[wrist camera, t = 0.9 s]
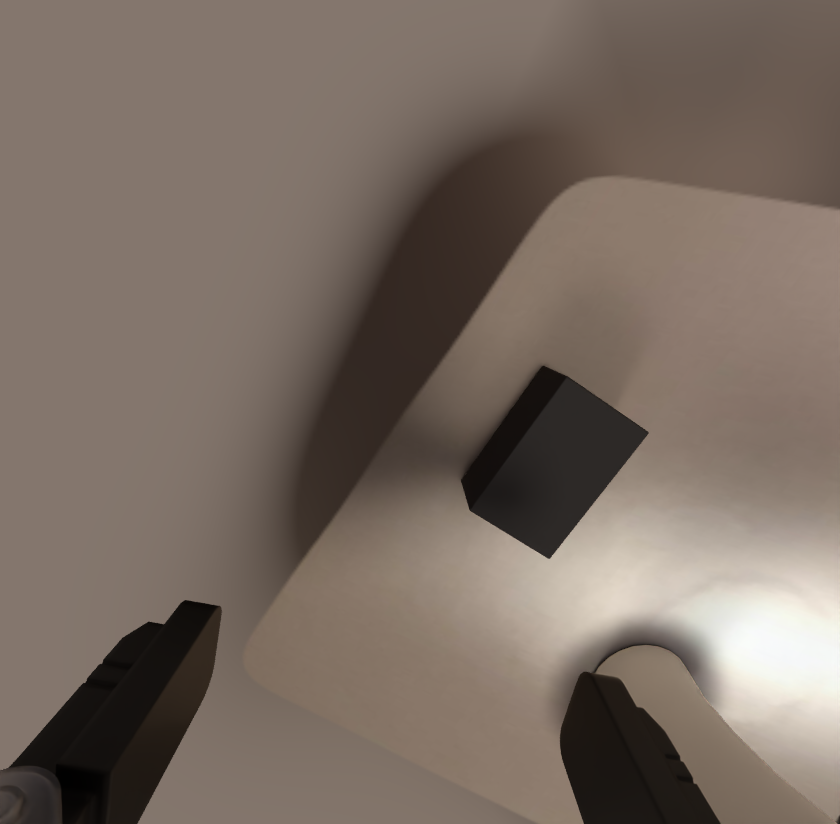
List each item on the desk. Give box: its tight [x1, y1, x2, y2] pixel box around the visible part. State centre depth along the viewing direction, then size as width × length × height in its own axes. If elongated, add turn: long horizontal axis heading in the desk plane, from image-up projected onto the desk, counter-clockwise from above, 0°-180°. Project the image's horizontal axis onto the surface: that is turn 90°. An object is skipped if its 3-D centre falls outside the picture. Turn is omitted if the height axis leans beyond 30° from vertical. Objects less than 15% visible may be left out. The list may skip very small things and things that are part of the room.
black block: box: [461, 366, 648, 559], centre depth 24 cm, size 8×5×4 cm, turn 147°
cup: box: [595, 645, 837, 824], centre depth 23 cm, size 10×10×14 cm
